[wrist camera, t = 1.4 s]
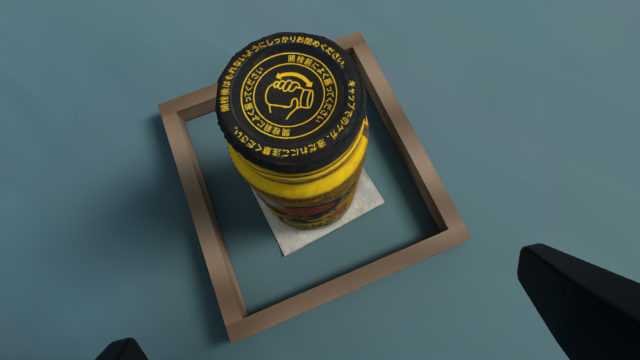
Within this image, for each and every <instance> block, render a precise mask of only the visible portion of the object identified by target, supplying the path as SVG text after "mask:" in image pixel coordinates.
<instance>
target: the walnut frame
mask: <svg viewBox="0 0 640 360" xmlns="http://www.w3.org/2000/svg"><path fill="white" fill-rule="evenodd" d="M334 42H335V43H336V44H337V45H339V46H340V47H341V48H343V49H344V50H345V51H346V52H347V54H348V55H349V56H350V57H351V59H352V60H353V62H354V63H355V64H356V65H357V66H358V68H359V70H360V72H361V74H362V79H363V82H364V85H365V87H366V89H367V91H368V93H369V95H370V97H371V99H372V101H373V103H374V105H375V107H376V108H377V110H378V112H379V114H380V116H381V118H382V120H383V122H384V124H385V126H386V128H387V130H388V132H389V134H390V135H391V137H392V139H393V141H394V143H395V145H396V147H397V149H398V151H399V153H400V155H401V157H402V159H403V161H404V163H405V164H406V166H407V168H408V170H409V172H410V174H411V176H412V178H413V180H414V182H415V184H416V186H417V188H418V190H419V192H420V193H421V195H422V197H423V199H424V201H425V203H426V205H427V207H428V209H429V211H430V213H431V215H432V217H433V219H434V220H435V222H436V224H437V226H438V228H439V230H440V232H441V233H439V234H437V235H435V236H433V237H430V238H428V239H426V240H423V241H421V242H419V243H416V244H414V245H412V246H409V247H407V248H405V249H402V250H400V251H398V252H396V253H393V254H391V255H389V256H386V257H384V258H382V259H379V260H377V261H375V262H372V263H370V264H368V265H365V266H363V267H361V268H359V269H356V270H354V271H352V272H349V273H347V274H345V275H342V276H340V277H338V278H335V279H333V280H331V281H328V282H326V283H324V284H322V285H319V286H317V287H315V288H312V289H310V290H308V291H305V292H303V293H301V294H298V295H296V296H294V297H291V298H289V299H287V300H285V301H282V302H280V303H278V304H275V305H273V306H271V307H268V308H266V309H264V310H261V311H259V312H257V313H254V314H252V315H250V316H248V314H247V310H246V307H245V304H244V301H243V298H242V295H241V292H240V289H239V286H238V283H237V280H236V277H235V274H234V271H233V268H232V265H231V261H230V258H229V255H228V252H227V249H226V246H225V243H224V240H223V237H222V234H221V231H220V228H219V225H218V222H217V219H216V216H215V212H214V209H213V206H212V203H211V200H210V197H209V194H208V191H207V188H206V185H205V182H204V179H203V176H202V173H201V170H200V167H199V163H198V160H197V157H196V154H195V151H194V148H193V145H192V142H191V139H190V136H189V133H188V130H187V127H186V124H185V122H186V121H189V120H191V119H194V118H197V117H199V116H202V115H205V114H207V113H210V112H213V111H215V110H216V109H215V105H216V94H217V86H218V83H216V84H214V85H211V86H208V87H205V88H203V89H200V90H197V91H194V92H192V93H189V94H186V95H183V96H181V97H178V98H175V99H172V100H170V101H167V102H164V103H161V104H159V105H158V107H159V110H160V114H161V117H162V120H163V123H164V127H165V130H166V133H167V137H168V140H169V143H170V146H171V150H172V153H173V156H174V159H175V163H176V166H177V169H178V173H179V176H180V179H181V182H182V186H183V189H184V192H185V196H186V199H187V202H188V205H189V209H190V212H191V215H192V218H193V222H194V225H195V228H196V232H197V235H198V238H199V241H200V245H201V248H202V251H203V254H204V258H205V261H206V264H207V268H208V271H209V274H210V277H211V281H212V284H213V287H214V290H215V294H216V297H217V300H218V304H219V307H220V310H221V313H222V317H223V320H224V323H225V326H226V330H227V333H228V336H229V340H230V343H231V344H233V343H235V342H237V341H240V340H242V339H244V338H246V337H249V336H251V335H253V334H256V333H258V332H260V331H262V330H265V329H267V328H269V327H272V326H274V325H276V324H278V323H281V322H283V321H285V320H288V319H290V318H292V317H294V316H297V315H299V314H301V313H303V312H306V311H308V310H310V309H313V308H315V307H317V306H319V305H322V304H324V303H326V302H329V301H331V300H333V299H335V298H338V297H340V296H342V295H345V294H347V293H349V292H351V291H354V290H356V289H358V288H361V287H363V286H365V285H367V284H370V283H372V282H374V281H377V280H379V279H381V278H383V277H386V276H388V275H390V274H393V273H395V272H397V271H399V270H402V269H404V268H406V267H408V266H411V265H413V264H415V263H418V262H420V261H422V260H424V259H427V258H429V257H431V256H434V255H436V254H438V253H440V252H443V251H445V250H447V249H450V248H452V247H454V246H456V245H459V244H461V243H463V242H466V241H468V240H470V239H472V237H471V235H470V233H469V232H468V230H467V228H466V226H465V224H464V222H463V220H462V219H461V217H460V215H459V213H458V211H457V209H456V208H455V206H454V204H453V202H452V200H451V198H450V196H449V195H448V193H447V191H446V189H445V187H444V185H443V184H442V182H441V180H440V178H439V176H438V174H437V173H436V171H435V169H434V167H433V165H432V163H431V161H430V160H429V158H428V156H427V154H426V152H425V150H424V149H423V147H422V145H421V143H420V141H419V139H418V137H417V136H416V134H415V132H414V130H413V128H412V126H411V125H410V123H409V121H408V119H407V117H406V115H405V114H404V112H403V110H402V108H401V106H400V104H399V102H398V101H397V99H396V97H395V95H394V93H393V91H392V90H391V88H390V86H389V84H388V82H387V80H386V78H385V77H384V75H383V73H382V71H381V69H380V67H379V66H378V64H377V62H376V60H375V58H374V56H373V55H372V53H371V51H370V49H369V47H368V45H367V43H366V42H365V40H364V38H363V36H362V34H361V32H360V31H359V32H356V33H353V34H351V35H348V36H345V37H342V38H340V39H337V40H334Z"/></svg>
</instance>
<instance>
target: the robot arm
mask: <svg viewBox="0 0 640 360" xmlns="http://www.w3.org/2000/svg"><path fill="white" fill-rule="evenodd" d="M517 275H518V279H519V282H520V283H521V285H522V287H523V288H524V290H525V292H526V293H527V295H528V296H529V298H530V300H531V301H532V303H533V305H534V306H535V308H536V309H537V311H538V313H539V314H540V316H541V317H542V319H543V321H544V322H545V324H546V325H547V327H548V329H549V330H550V332H551V334H552V335H553V337H554V338H555V340H556V341H557V343H558V344H559V345H560V347H561V348H562V350H563V351H564V352H565V354H566V355H567V356H568V358H569V359H570V360H640V283H638V282H635V281H633V280H630V279H628V278H625V277H623V276H621V275H618V274H616V273H613V272H611V271H608V270H606V269H603V268H601V267H598V266H596V265H594V264H591V263H589V262H586V261H584V260H581V259H579V258H576V257H574V256H571V255H569V254H567V253H564V252H562V251H559V250H557V249H554V248H552V247H549V246H547V245H544V244H541V243H537V244H533V245H528V246H524V247H523V248H522V249H521V251H520V256H519V263H518V270H517ZM95 360H148V358H147V357H146V355H145V354H144V352H143V351H142V349H141V348H140V346H139V345H138V343H137V342H136V340H135V339H133V338H125V339H121V340H117V341H114V342H112V343H110V344H109V345H108V346H107V347H106V348H105V349H104V350H103V351H102V353H101V354H100V355H99V356H98V357H97V358H96V359H95Z"/></svg>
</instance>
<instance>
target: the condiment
mask: <svg viewBox="0 0 640 360" xmlns="http://www.w3.org/2000/svg"><path fill="white" fill-rule="evenodd" d="M366 102H367V96H366V89H365V85H364V82H363V79H362V74H361V72H360V70H359V68H358V66H357V65H356V64H355V63H354V62H353V60H352V59H351V57H350V56H349V55H348V54H347V52H346V51H345V50H344V49H343V48H341V47H340V46H339V45H337V44H336V43H335V42H334V41H331V40H329V39H327V38H325V37H323V36H318V35H313V34H306V33H294V32H280V33H275V34H272V35H269V36H266V37H263V38H261V39H260V40H257V41H254V42H251V43H250V44H249V45H247V46H246V47H245V48H243V49H242V50H241V51H239V52H237V53H236V54H235V55H234V56H233V57H232V58H231V60H230V62H229V63H228V65H227V66H226V67H225V69H224V71H223V72H222V74H221V76H220V77H219V79H218V86H217V94H216V105H215V109H216V110H215V111H216V114H217V118H218V123H217V124H218V125H219V126H220V128H221V131H222V132H223V133H224V137H225V139H226V140H227V142H228V149H229V154H230V157H231V160H232V161H233V163H234V164H235V167H236V169H237V170H238V172H239V173H240V175H241V176H242V178H243V179H244V180H245V181H247V182H248V183H249V185H250V187H251V189H252V191H253V193H254V195H255V197H256V199H257V201H258V203H259V205H260V207H261V209H262V211H263V213H264V215H265V217H266V219H267V221H268V223H269V225H270V227H271V229H272V231H273V233H274V235H275V237H276V239H277V241H278V243H279V245H280V248H281V250H282V252H283V254H284V256H286V255H288V254H290V253H292V252H294V251H296V250H297V249H299V248H301V247H303V246H305V245H307V244H309V243H311V242H313V241H314V240H316V239H318V238H320V237H322V236H324V235H326V234H327V233H329V232H331V231H333V230H335V229H337V228H338V227H340V226H342V225H344V224H346V223H348V222H350V221H351V220H353V219H355V218H357V217H359V216H361V215H362V214H364V213H366V212H368V211H370V210H371V209H373V208H375V207H377V206H379V205H381V204H383V203H384V200H383V199H382V197H381V195H380V194H379V192H378V191H377V189H376V187H375V186H374V184H373V183H372V181H371V179H370V178H369V176H368V174H367V172H366V171H365V169H364V168H363V164H364V161H365V157H366V153H367V145H368V137H369V124H368V121H367V115H366Z"/></svg>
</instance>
